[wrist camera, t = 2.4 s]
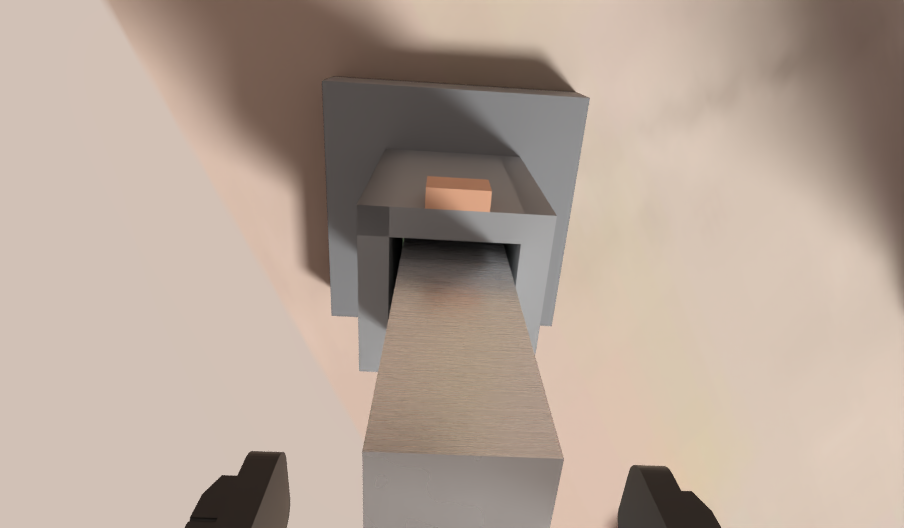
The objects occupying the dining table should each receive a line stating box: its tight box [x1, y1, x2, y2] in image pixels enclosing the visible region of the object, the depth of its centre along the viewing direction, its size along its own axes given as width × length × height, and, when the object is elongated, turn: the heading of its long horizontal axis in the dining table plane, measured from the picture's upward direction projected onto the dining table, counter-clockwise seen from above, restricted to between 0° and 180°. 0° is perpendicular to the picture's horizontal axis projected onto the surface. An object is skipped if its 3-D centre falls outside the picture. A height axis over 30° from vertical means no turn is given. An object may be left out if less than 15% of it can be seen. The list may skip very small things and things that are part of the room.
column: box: [362, 238, 564, 528], centre depth 20 cm, size 4×4×20 cm
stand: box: [322, 76, 590, 372], centre depth 26 cm, size 14×14×13 cm
